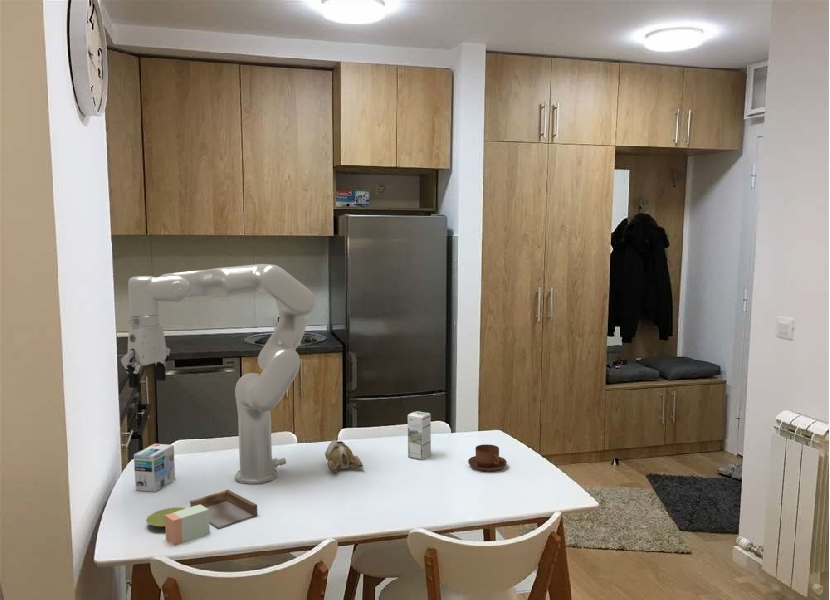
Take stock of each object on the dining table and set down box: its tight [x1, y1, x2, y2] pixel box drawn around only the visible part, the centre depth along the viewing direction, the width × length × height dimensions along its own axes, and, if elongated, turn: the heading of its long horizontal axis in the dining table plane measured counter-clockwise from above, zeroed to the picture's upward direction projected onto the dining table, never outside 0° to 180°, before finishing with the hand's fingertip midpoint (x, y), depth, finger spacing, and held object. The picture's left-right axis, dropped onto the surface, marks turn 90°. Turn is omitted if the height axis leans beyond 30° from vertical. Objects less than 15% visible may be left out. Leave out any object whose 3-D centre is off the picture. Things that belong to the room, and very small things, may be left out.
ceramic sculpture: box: [324, 438, 364, 473], centre depth 206 cm, size 11×9×15 cm
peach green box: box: [164, 505, 211, 546], centre depth 159 cm, size 9×4×6 cm, turn 135°
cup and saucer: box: [467, 444, 507, 472], centre depth 205 cm, size 12×12×6 cm
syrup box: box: [407, 411, 432, 461], centre depth 215 cm, size 6×6×14 cm
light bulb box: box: [133, 443, 176, 493], centre depth 192 cm, size 11×7×11 cm, turn 168°
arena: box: [189, 489, 258, 530], centre depth 172 cm, size 11×15×3 cm
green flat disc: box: [146, 506, 187, 527], centre depth 166 cm, size 11×11×2 cm
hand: (147, 383), depth 179 cm, fingers open, 9 cm apart
